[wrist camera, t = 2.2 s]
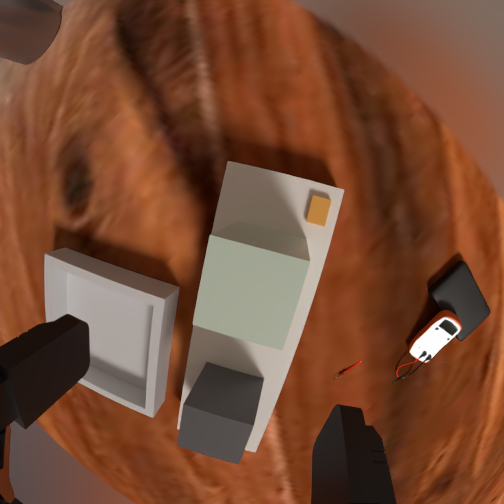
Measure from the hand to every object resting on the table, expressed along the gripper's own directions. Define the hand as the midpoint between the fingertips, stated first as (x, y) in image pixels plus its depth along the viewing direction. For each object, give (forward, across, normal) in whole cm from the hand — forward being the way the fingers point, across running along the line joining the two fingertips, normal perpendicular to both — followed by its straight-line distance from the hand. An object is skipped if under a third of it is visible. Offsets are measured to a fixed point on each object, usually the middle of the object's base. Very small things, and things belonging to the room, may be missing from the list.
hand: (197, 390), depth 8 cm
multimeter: (+20, -18, +6) cm, 28 cm away
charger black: (+18, 0, +13) cm, 22 cm away
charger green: (+18, 0, 0) cm, 18 cm away
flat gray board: (+19, 0, +7) cm, 21 cm away
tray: (+19, +15, +13) cm, 28 cm away
